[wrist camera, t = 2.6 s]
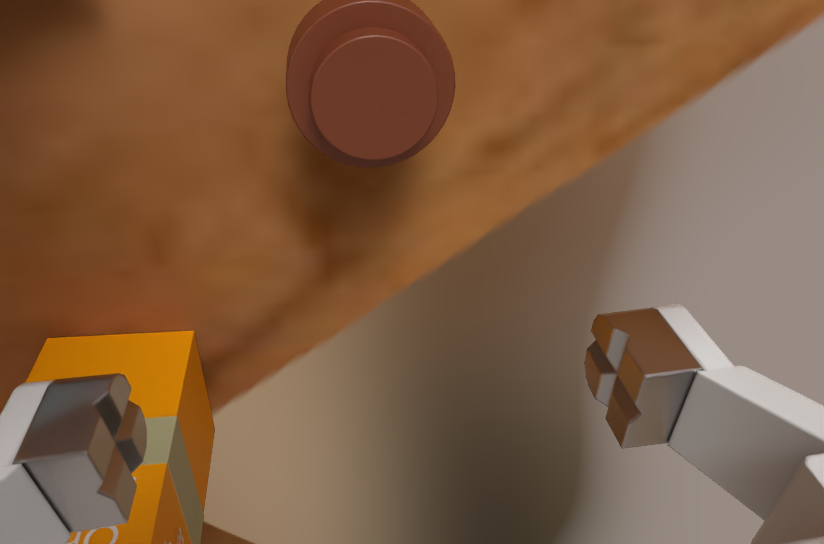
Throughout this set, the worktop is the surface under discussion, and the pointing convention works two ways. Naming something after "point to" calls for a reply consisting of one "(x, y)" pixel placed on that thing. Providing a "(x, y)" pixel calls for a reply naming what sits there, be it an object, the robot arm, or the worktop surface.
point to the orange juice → (150, 427)
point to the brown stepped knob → (369, 80)
